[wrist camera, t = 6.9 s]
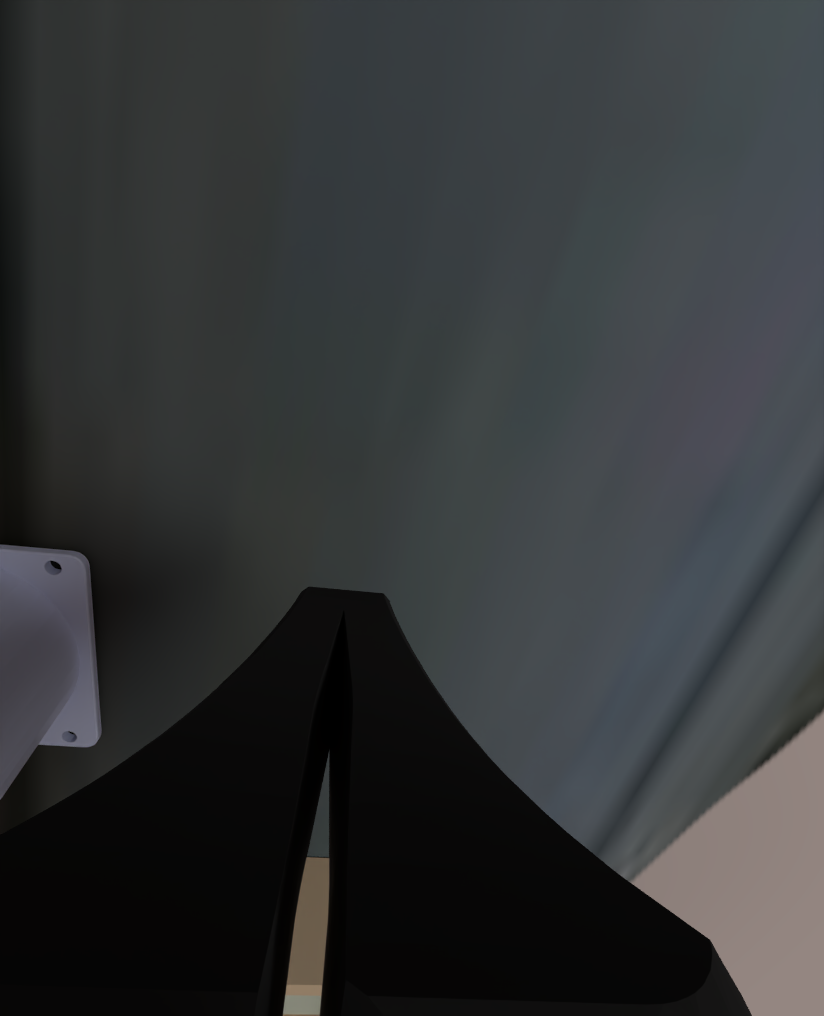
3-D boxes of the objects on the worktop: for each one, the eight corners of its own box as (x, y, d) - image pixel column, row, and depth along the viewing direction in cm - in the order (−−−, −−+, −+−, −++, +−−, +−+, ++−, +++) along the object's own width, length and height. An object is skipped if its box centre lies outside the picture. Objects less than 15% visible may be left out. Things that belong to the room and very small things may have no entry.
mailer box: (123, 1000, 29) (76, 1139, 25) (112, 850, 25) (55, 980, 21) (374, 1002, 30) (374, 1136, 26) (398, 860, 27) (404, 986, 22)
